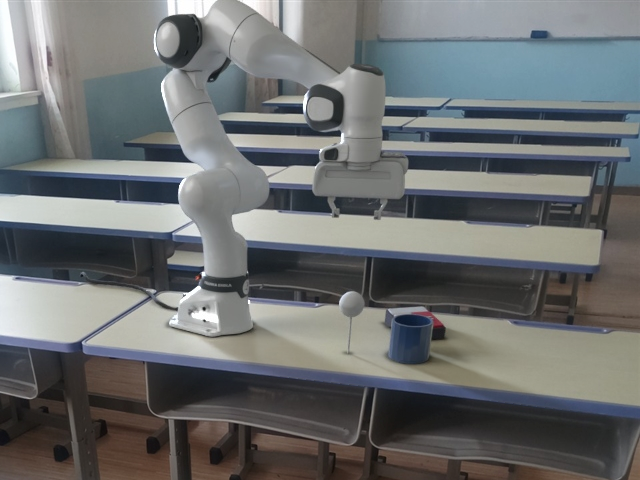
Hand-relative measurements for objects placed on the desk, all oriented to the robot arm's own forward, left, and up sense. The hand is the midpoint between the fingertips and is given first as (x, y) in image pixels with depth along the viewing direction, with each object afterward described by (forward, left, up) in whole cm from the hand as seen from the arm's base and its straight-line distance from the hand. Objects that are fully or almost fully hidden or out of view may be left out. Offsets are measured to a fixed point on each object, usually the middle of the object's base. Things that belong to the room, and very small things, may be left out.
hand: (356, 218), depth 180 cm
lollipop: (+1, -1, -32) cm, 32 cm away
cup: (+15, +3, -31) cm, 35 cm away
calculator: (+11, +22, -32) cm, 40 cm away
